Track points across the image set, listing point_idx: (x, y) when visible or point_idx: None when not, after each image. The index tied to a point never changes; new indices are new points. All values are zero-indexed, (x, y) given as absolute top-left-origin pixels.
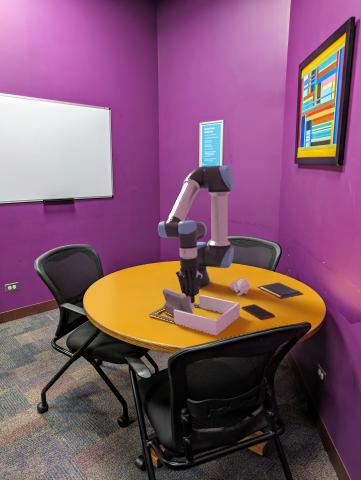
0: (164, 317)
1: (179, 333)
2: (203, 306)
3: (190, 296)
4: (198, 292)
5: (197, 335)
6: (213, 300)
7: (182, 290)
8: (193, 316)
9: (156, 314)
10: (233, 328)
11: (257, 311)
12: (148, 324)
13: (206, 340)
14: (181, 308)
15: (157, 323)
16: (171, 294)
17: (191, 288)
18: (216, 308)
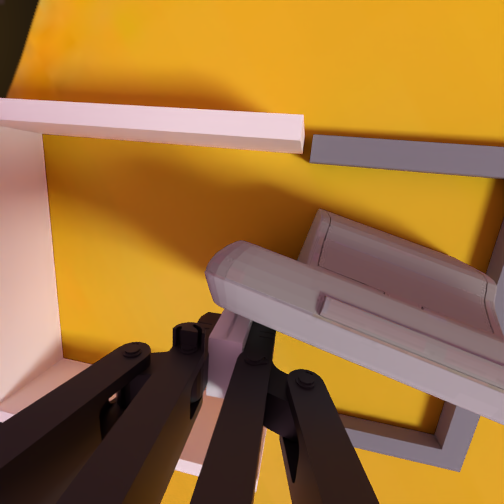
0: (405, 154)
1: (203, 24)
2: None
3: (188, 325)
4: (112, 402)
5: (102, 65)
6: None
7: (311, 400)
8: (100, 105)
9: (502, 174)
10: None
11: None
12: (495, 20)
13: (35, 37)
14: (302, 261)
15: (426, 78)
16: (461, 328)
17: (133, 413)
18: None
